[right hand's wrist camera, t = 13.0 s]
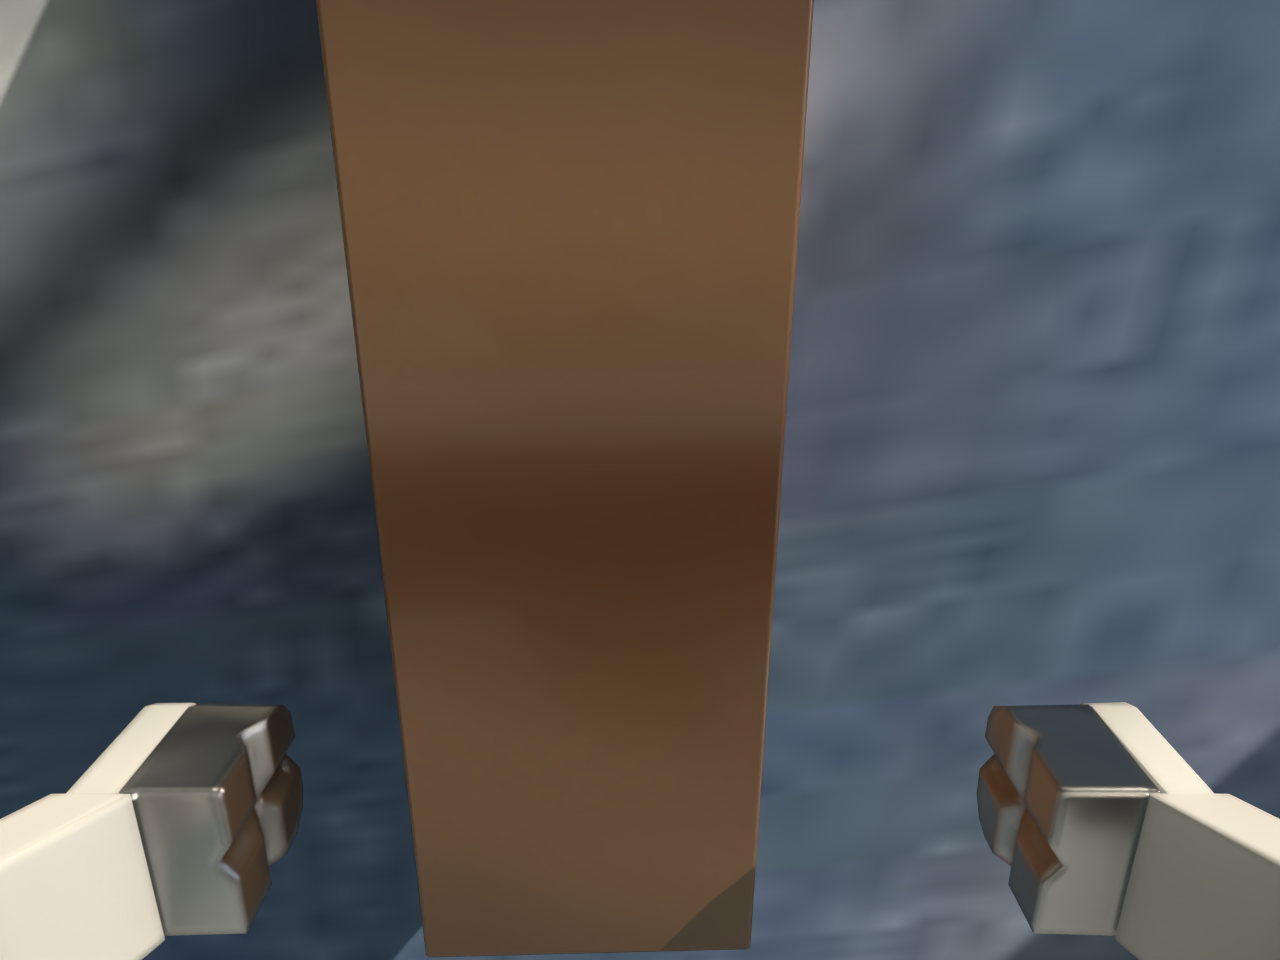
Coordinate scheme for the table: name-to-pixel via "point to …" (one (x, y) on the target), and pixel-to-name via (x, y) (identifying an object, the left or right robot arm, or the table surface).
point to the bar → (575, 442)
